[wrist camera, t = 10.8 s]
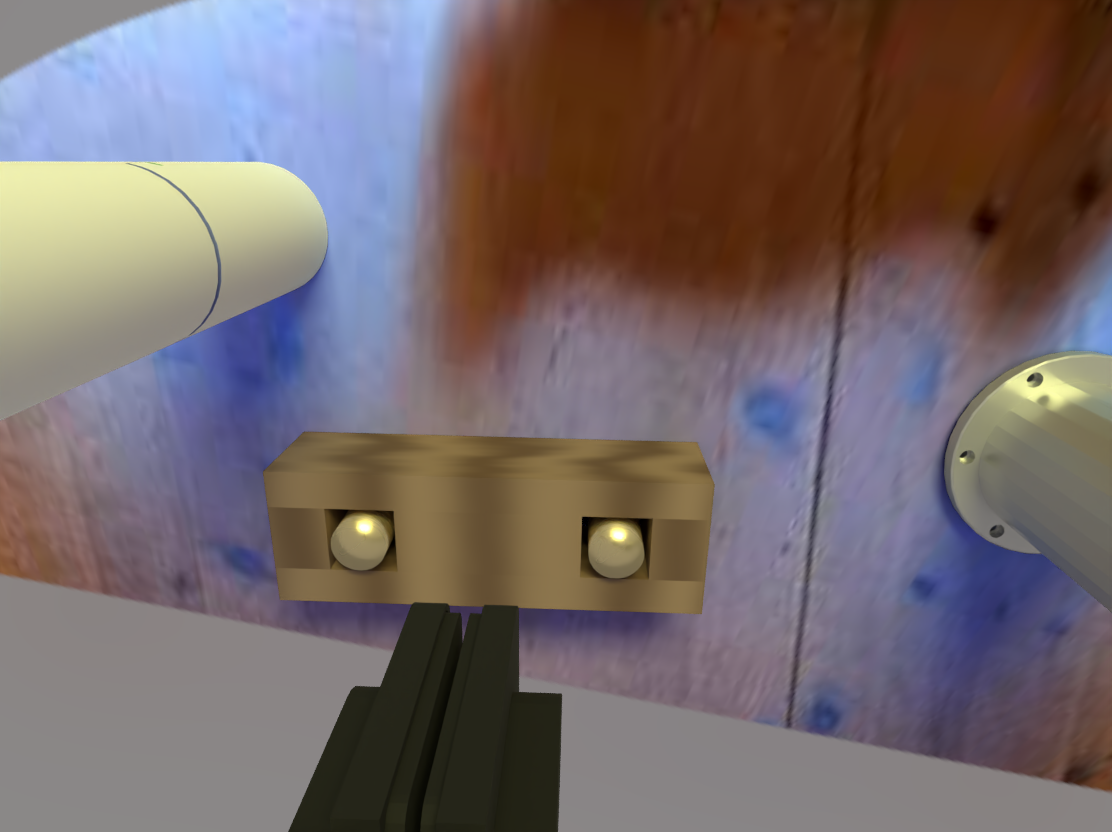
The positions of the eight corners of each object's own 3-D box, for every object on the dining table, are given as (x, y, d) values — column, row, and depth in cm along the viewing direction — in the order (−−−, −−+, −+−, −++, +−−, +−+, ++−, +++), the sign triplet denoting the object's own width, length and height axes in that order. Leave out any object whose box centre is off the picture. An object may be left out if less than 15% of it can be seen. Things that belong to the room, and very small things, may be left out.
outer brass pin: (409, 476, 44) (383, 522, 38) (411, 519, 45) (387, 571, 39) (360, 474, 44) (328, 521, 38) (364, 518, 45) (333, 569, 39)
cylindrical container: (305, 314, 41) (-61, 516, 18) (186, 261, 40) (-364, 399, 17) (345, 197, 39) (-14, 250, 15) (219, 138, 38) (-360, 100, 15)
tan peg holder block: (697, 442, 43) (714, 484, 37) (686, 558, 46) (701, 614, 40) (304, 431, 44) (262, 471, 38) (316, 546, 46) (279, 599, 41)
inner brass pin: (637, 482, 43) (645, 530, 38) (634, 526, 44) (642, 579, 39) (588, 481, 44) (589, 528, 38) (586, 525, 45) (587, 577, 39)
